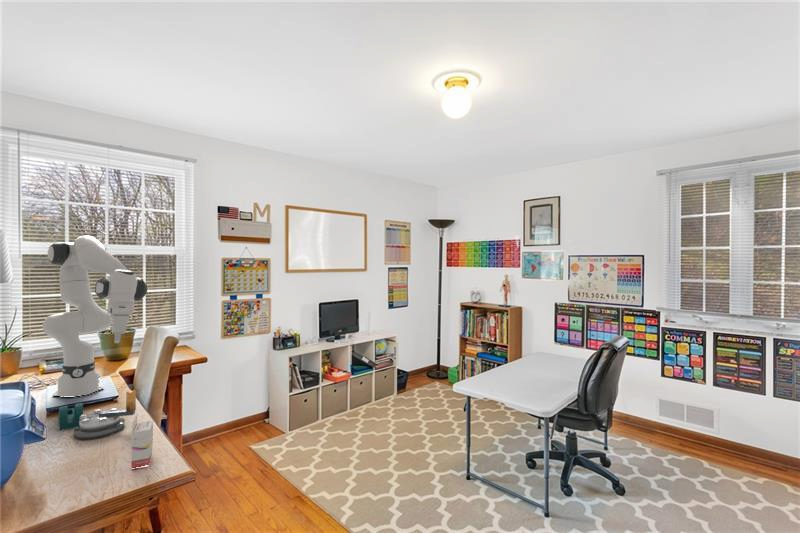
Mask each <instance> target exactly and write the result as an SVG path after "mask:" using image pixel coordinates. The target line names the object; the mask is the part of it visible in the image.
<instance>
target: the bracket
mask: <svg viewBox="0 0 800 533" xmlns="http://www.w3.org/2000/svg"><path fill="white" fill-rule="evenodd" d="M68 407H69V406H68V405H64V406H63V405H62V406H59V408H58V409H59V410H58V414H57V415H58V417H57V418H58V426H59V431H64V430H69V429H72V428H74V429H75V428H76V427H78V426H79V420H80V416H81V415H84V404H83V402H79V403H74V407H72V408H68Z"/></svg>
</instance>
